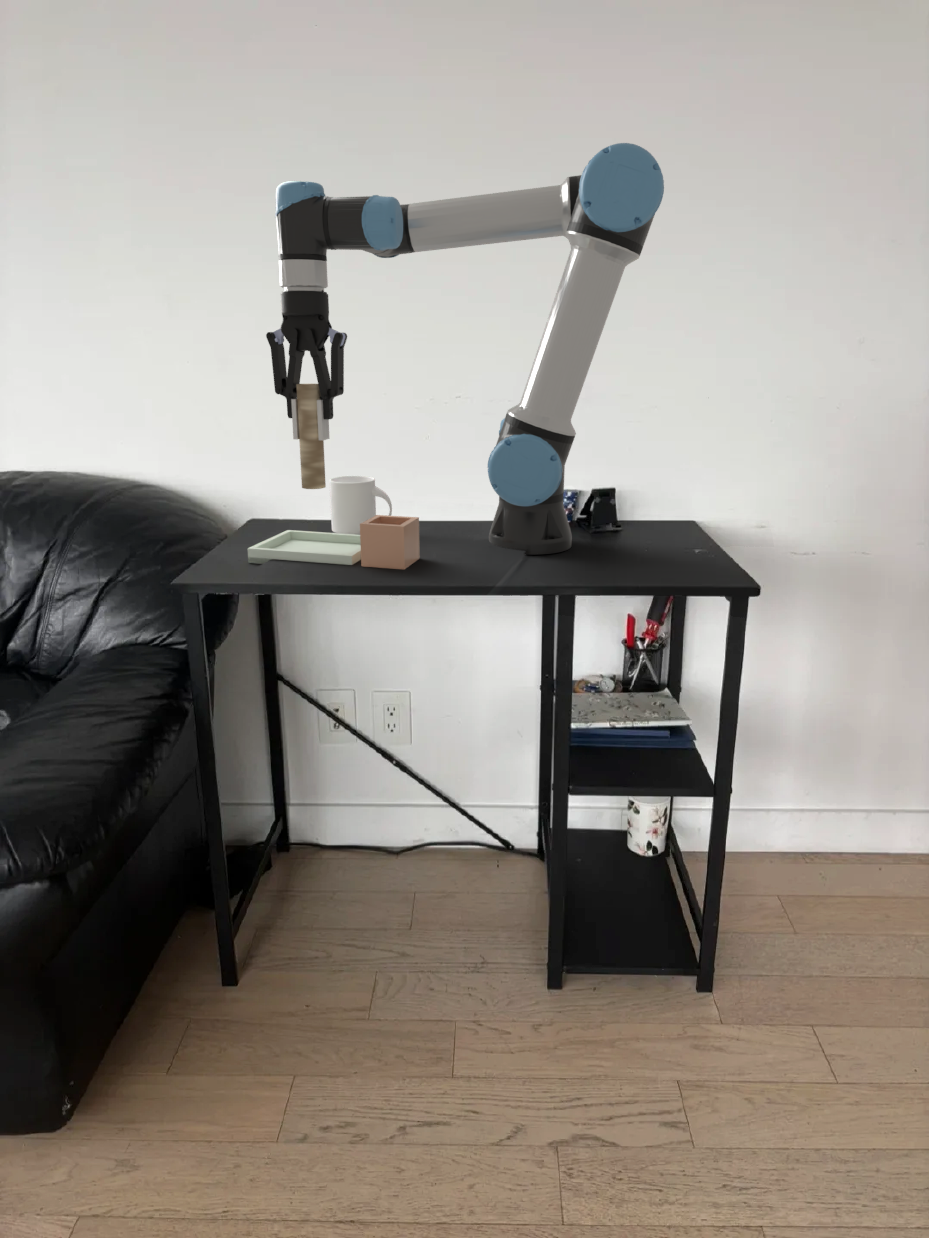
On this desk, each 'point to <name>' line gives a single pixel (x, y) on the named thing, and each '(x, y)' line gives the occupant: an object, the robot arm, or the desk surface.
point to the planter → (389, 541)
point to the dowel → (310, 437)
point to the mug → (353, 502)
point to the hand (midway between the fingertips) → (311, 438)
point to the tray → (308, 548)
